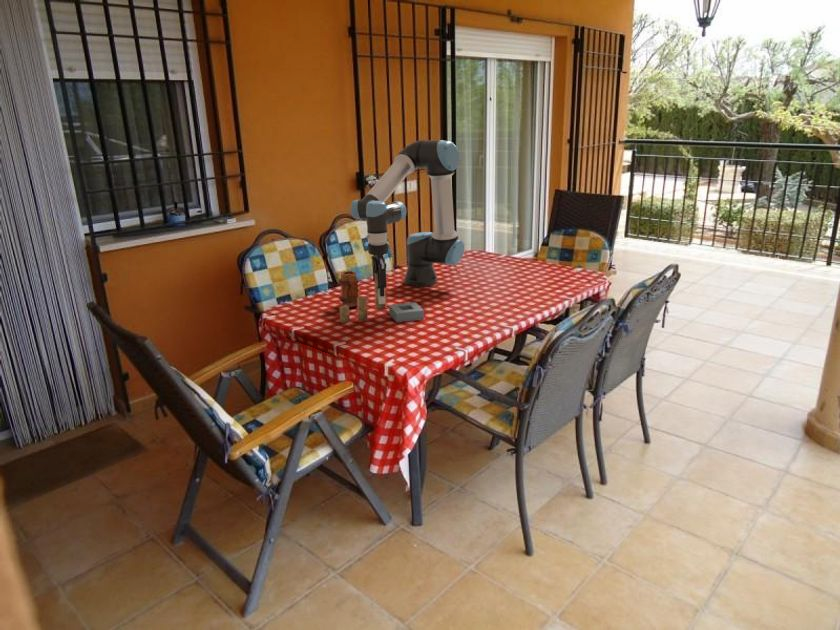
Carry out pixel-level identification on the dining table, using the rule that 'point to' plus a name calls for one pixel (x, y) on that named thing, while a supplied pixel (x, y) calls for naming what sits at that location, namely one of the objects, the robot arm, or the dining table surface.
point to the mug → (349, 288)
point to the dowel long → (378, 306)
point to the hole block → (406, 312)
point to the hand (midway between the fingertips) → (380, 301)
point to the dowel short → (344, 314)
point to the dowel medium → (362, 308)
